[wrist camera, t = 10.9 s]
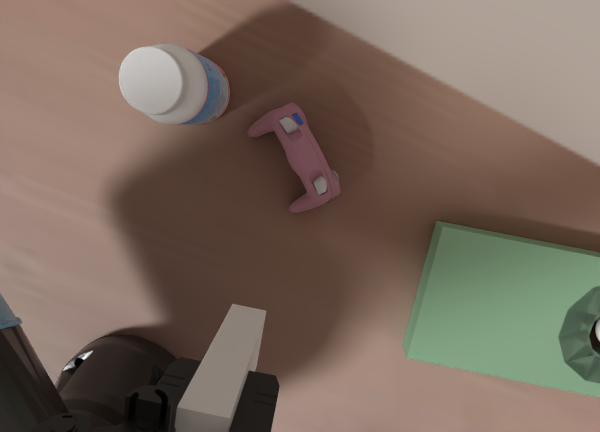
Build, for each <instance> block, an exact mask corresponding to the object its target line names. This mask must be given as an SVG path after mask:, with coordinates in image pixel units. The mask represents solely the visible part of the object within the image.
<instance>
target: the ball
mask: <svg viewBox="0 0 600 432" xmlns="http://www.w3.org/2000/svg"><path fill="white" fill-rule="evenodd" d="M595 333H596V336H597V338H598V340H599V341H600V318H599V319H598V320H597V322H596V325H595Z"/></svg>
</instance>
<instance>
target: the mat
mask: <svg viewBox="0 0 600 432" xmlns="http://www.w3.org/2000/svg"><path fill="white" fill-rule="evenodd" d="M599 317H600V252H596V251H591V250H586V249H581V248H576V247H570V246H565V245H560V244H555V243H550V242H545V241H539V240H534V239H529V238H524V237H519V236H514V235H508V234H503V233H498V232H493V231H488V230H483V229H478V228H472V227H467V226H462V225H457V224H452V223H447V222H441V221H436V223H435V227H434V231H433V234H432V238H431V242H430V245H429V249H428V253H427V256H426V260H425V264H424V268H423V271H422V275H421V279H420V282H419V286H418V290H417V293H416V297H415V301H414V305H413V308H412V312H411V316H410V319H409V323H408V327H407V330H406V334H405V338H404V341H403V348H404V351H405V354H406V357H407V358H409V359H414V360H418V361H423V362H428V363H433V364H438V365H443V366H448V367H453V368H458V369H462V370H467V371H472V372H477V373H482V374H487V375H492V376H497V377H502V378H507V379H511V380H516V381H521V382H526V383H531V384H536V385H541V386H546V387H551V388H555V389H560V390H565V391H570V392H575V393H580V394H585V395H590V396H595V397H599V398H600V347H598V346H593V345H591V342H590V337H589V334H590V332H591V329H592V327H593V324H594V322H595V321H596V320H597V319H598V318H599Z"/></svg>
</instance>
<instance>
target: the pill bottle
mask: <svg viewBox="0 0 600 432" xmlns="http://www.w3.org/2000/svg"><path fill="white" fill-rule="evenodd" d="M119 84H120V88H121V92H122V94H123V96H124V97H125V99H126V101H127V102H128V103H129V104H130V105H131V106H132V107H134V108H135V109H136V110H138V111H140V112H143V113H144V114H145V115H147V116H148V117H149V118H151V119H153V120H155V121H157V122H160V123H163V124H173V125H175V124H205V123H210V122H212V121H214V120H216V119H218V118H219V117H220V116H221V115H222V114H223V113H224V111H225V110H226V108H227V106H228V103H229V98H230V87H229V82H228V79H227V76H226V74H225V73H224V71H223V70H222V69H221V68H220V67H219V66H218V65H217V64H216V63H215V62H213V61H211V60H209V59H207V58H205V57H203V56H201V55H199V54H196V53H194V52H192V51H190V50H188V49H186V48H184V47H181V46H179V45H176V44H171V43H161V44H156V45H153V46H144V47H140V48H137V49H135V50H133V51H132V52H130V53H129V54H128V55H127V56H126V58H125V59H124V61H123V62H122V64H121V67H120V71H119Z"/></svg>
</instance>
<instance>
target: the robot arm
mask: <svg viewBox="0 0 600 432" xmlns="http://www.w3.org/2000/svg"><path fill="white" fill-rule="evenodd" d="M265 317H266V311H265V310H261V309H256V308H251V307H246V306H241V305H236V304H232V306H231V308H230V310H229V311H228V313H227V315H226V317H225V319H224V321H223V323H222V324H221V326H220V328H219V330H218V332H217V334H216V336H215V337H214V339H213V341H212V343H211V345H210V347H209V349H208V350H207V352H206V354H205V356H204V358H203V360H202V362H201V361H196V360H192V359H187V358H182V357H181V358H179V359H178V360H176V359H175V358H174V357H173V356H172V355H171V354H169V353H168V352H167V351H166V350H164V349H163V348H161V347H160V346H158V345H156V344H154V343H152V342H150V341H148V340H145V339H142V338H138V337H134V336H127V335H115V336H108V337H104V338H100V339H98V340H95V341H93V342H91V343H90V344H88V345H87V346H85V347H84V348H83V349H82V350H81V351H79V352H78V353H77V354H76V355H75V356H74V357H73V358H72V359H71V360H70V361H69V362H68V363H67V365H66V366H65V367H64V369H63V370H62V372H61V374H60V376H59V378H58V380H57V382H56V384H55V386H54V384H53V382H52V381H51V379H50V377H49V376H48V374H47V372H46V371H45V369H44V367H43V365H42V363H41V362H40V360H39V358H38V356H37V354H36V353H35V351H34V349H33V347H32V345H31V344H30V342H29V340H28V338H27V336H26V335H25V333H24V331H23V329H22V328H21V326H20V324H21V323H22V321H21V319H20V318H18V317H15V315H14V313H13V312H12V310H11V309H10V307H9V306H8V304H7V303H6V301H5V300H4V298H3V297H2V295H1V294H0V432H271V427H272V422H273V417H274V412H275V407H276V402H277V397H278V391H279V383H278V381H277V378H276V376H274V375H269V374H264V373H259V372H255V370H256V367H257V362H258V356H259V350H260V345H261V339H262V334H263V328H264V322H265Z"/></svg>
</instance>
